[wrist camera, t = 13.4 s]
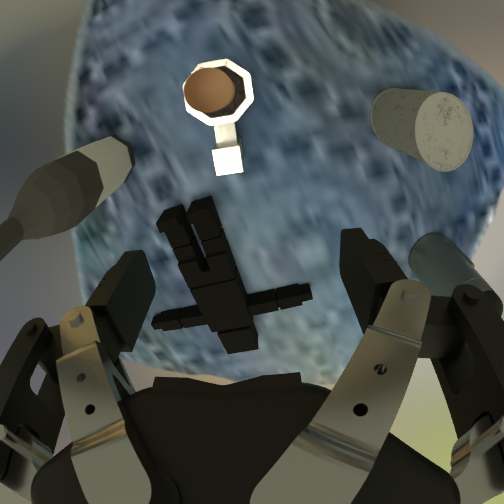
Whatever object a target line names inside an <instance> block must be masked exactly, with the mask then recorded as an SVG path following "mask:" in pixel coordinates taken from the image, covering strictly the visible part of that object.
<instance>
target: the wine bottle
mask: <svg viewBox="0 0 504 504" xmlns="http://www.w3.org/2000/svg"><path fill="white" fill-rule="evenodd" d="M134 165H135V161H134V157H133V153H132V149H131V145H130V144H128V143H127V142H125V141H123V140H122V139H120V138H119V137H117V136H115V135H113V136H110V137H107V138H104V139H101V140H98V141H95V142H93V143H90V144H88V145H86V146H83V147H81V148H79V149H76V150H74V151H72V152H70V153H68V154H66V155H64V156H61V157H59V158H57V159H55V160H53V161H51V162H49V163H47V164H45V165H44V166H41V167H40V168H38V169H36V170H35V171H34V172H33V173H32V174H31V175H30V176H29V177H28V178H27V180H26V181H25V183H24V185H23V186H22V187H21V189H20V191H19V193H18V195H17V198H16V200H15V203H14V205H13V208H12V211H11V213H10V215H9V218H8V219H7V220H6V221H4V222H3V223H2V224H1V225H0V261H1V260H2V259H3V258H4V257H5V256H6V255H7V254H8V253H9V252H10V251H11V250H12V249H13V248H14V247H15V246H16V245H17V244H18V243H19V242H20V241H21V240H27V239H39V238H43V237H47V236H51V235H55V234H58V233H61V232H64V231H67V230H69V229H71V228H73V227H75V226H77V225H78V224H79V223H80V222H81V221H82V220H83V219H84V218H85V217H86V216H87V215H88V214H89V213H91V212H92V211H93V210H94V209H95V208H96V207H97V206H98V205H99V204H100V203H101V202H103V201H104V200H105V199H106V198H107V197H108V196H109V195H111V194H112V193H113V192H114V191H115V190H116V189H118V188H119V187H120V186H121V185H122V184H123V183H125V181H126V180H127V178H128V176H129V174H130V172H131V171H132V169H133V167H134Z"/></svg>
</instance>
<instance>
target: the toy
mask: <svg viewBox="0 0 504 504" xmlns="http://www.w3.org/2000/svg"><path fill="white" fill-rule="evenodd" d="M190 224H194V227H195V229H196V232H197V234H198V236H199V239H200V240H202V241H201V244H202V246H203V249H204V251H205V254H206V258H204V255H203V253H202V251H201V248H200V247H199V245H198V242H197V240H196V237H195V235H193V234H194V232H193V230H192V227H191V225H190ZM156 225H157V227H158V229H159V232H160V233H162V232H165V234H166V236H167V238H168V241H169V243H170V245H171V247H172V248H173V247H174V248H173V251H174V254H175V256H176V258H177V260H178V262H179V263H178V267H179V269H180V271H181V273H182V275H183V277H184V279H185V281H186V283H187V285H188V287H189V288H190V291H191V293H192V295H193V297H194V299H195V301H196V303H197V305H196V306H191V307H186V308H182V310H181V309H175V310H170V311H164V312H161V315H157V316H154V317H153V320H152V323H151V325H152V327H153V328H154V330H156V329H162V330H163V331H168V330H175V329H181V328H183V326H184V328H188V327H194V326H200V325H206V324H208V326H209V328H210V330H211V331H212V332H218V334H217V335H218V336H219V338H220V340H221V342H222V344H223V346H224V348H225V349H226V351H227V353H228V354H232V353H238V352H244V351H250V350H256V349H258V333H257V331H256V328H255V325H254V323H253V316H254V315H259V314H263V313H268V312H273V311H278V310H279V309H278V307H280V309H281V310H282V309H287V308H291V307H296V306H300V305H302V302H303V301H308V300H312V299H313V298H312V292H311V289H310V285H309V284H308V285H304V286H300V287H299V286H298V284H295V285H291V286H286V287H282V288H278V289H277V292H275V290H274V289H273V290H269V291H264V292H260V293H255V294H250V295H247V293H246V290H245V288H244V285H243V282H242V280H241V277H240V274H239V271H238V269H237V266H236V263H235V260H234V258H233V255H232V252H231V249H230V246H229V244H228V241H227V239H226V236H225V233H224V231H223V228H221V227H222V225H221V222H220V219H219V217H218V214H217V211H216V208H215V205H214V202H213V199H212V197H211V196H210V197H206V198H203V199H200V200H196V201H193V202H191V205H190V207H189V209H188V211H187V213H185V210H184V207H183V205H180V206H176V207H173V208H170V209H167V210H164V211H163V213H162V215H161V216H160V218H159V219H158V221H157V222H156Z"/></svg>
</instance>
